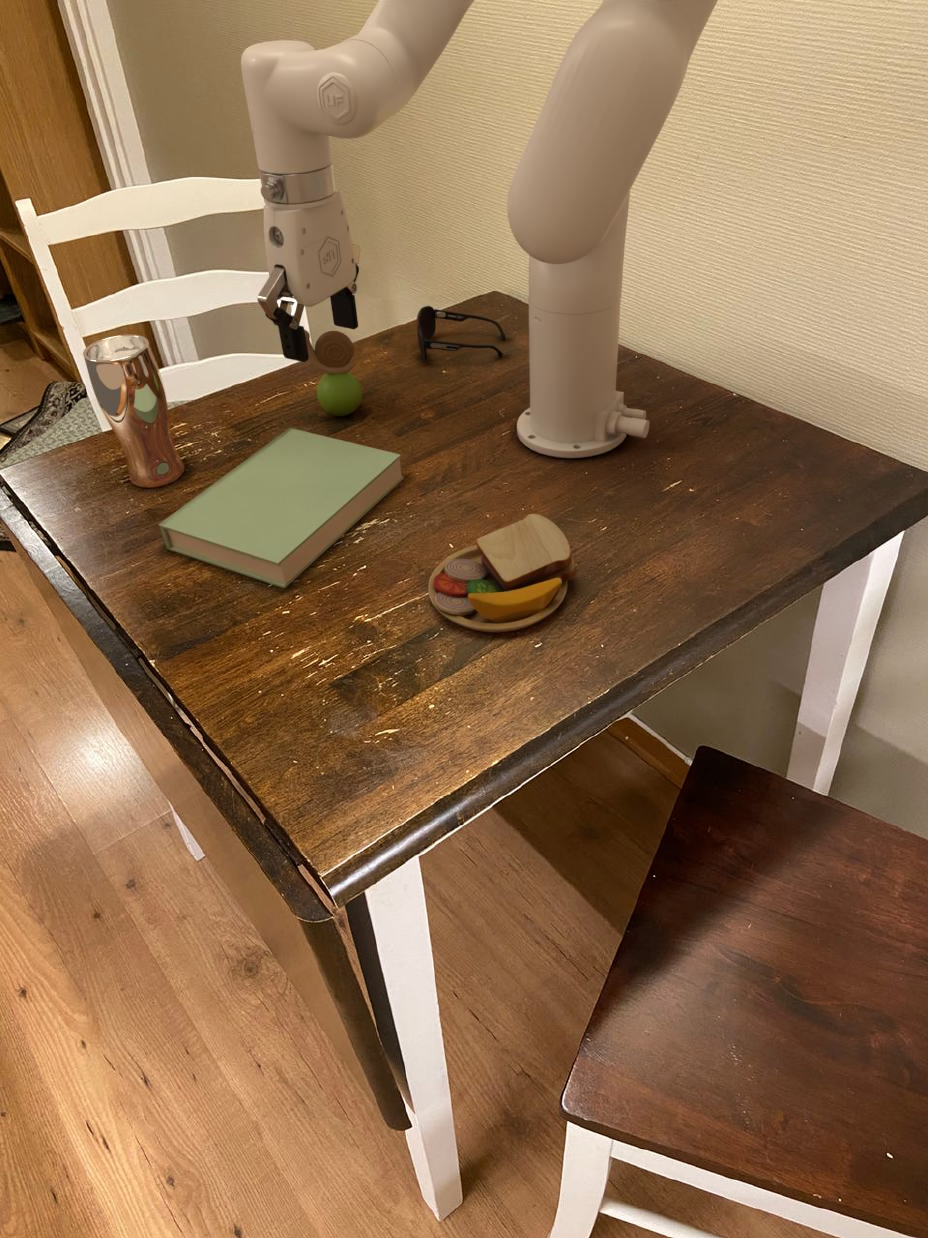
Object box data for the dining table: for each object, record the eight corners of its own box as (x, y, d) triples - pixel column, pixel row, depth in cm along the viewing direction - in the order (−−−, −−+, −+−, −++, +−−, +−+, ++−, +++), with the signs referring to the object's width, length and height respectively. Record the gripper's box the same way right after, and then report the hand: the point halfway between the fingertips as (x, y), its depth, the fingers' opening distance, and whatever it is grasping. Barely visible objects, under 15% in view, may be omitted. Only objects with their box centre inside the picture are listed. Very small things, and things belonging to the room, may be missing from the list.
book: (403, 478, 96) (400, 454, 94) (284, 588, 82) (278, 563, 80) (294, 450, 102) (289, 427, 100) (166, 549, 88) (158, 524, 86)
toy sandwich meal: (415, 567, 84) (410, 526, 80) (551, 539, 86) (551, 498, 83) (447, 653, 74) (443, 610, 71) (598, 619, 76) (600, 575, 73)
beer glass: (172, 492, 97) (130, 362, 87) (115, 488, 98) (67, 360, 88) (198, 459, 102) (162, 333, 92) (144, 456, 103) (102, 332, 93)
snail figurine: (313, 405, 110) (295, 311, 102) (364, 400, 110) (350, 306, 103) (311, 426, 106) (293, 330, 98) (364, 421, 106) (350, 324, 98)
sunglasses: (421, 333, 125) (422, 298, 122) (505, 342, 125) (508, 307, 121) (410, 365, 117) (412, 329, 114) (500, 375, 117) (504, 339, 113)
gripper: (274, 212, 84) (302, 379, 95) (374, 166, 95) (389, 320, 107) (214, 203, 87) (249, 366, 98) (318, 159, 98) (339, 310, 109)
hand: (322, 342), depth 102 cm, fingers open, 9 cm apart
